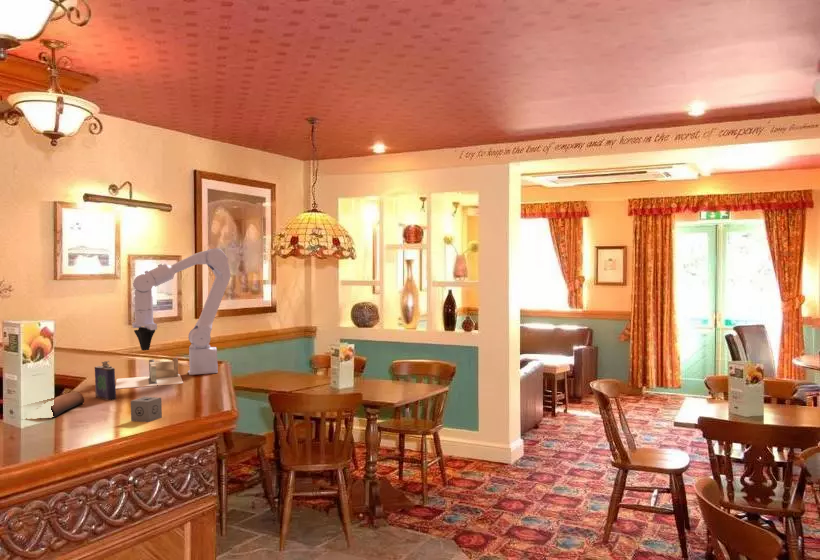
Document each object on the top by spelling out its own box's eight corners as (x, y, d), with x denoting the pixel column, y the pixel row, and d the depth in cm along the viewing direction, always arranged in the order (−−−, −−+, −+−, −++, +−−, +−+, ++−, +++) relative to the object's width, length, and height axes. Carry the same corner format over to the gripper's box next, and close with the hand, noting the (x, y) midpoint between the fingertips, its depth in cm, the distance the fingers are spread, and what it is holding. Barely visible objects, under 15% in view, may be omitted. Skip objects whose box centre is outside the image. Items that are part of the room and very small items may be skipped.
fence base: (178, 375, 232) (177, 357, 232) (178, 376, 230) (177, 358, 230) (149, 378, 228) (148, 359, 228) (149, 378, 227) (148, 360, 227)
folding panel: (150, 377, 227) (149, 362, 226) (154, 377, 227) (154, 361, 227) (151, 382, 218) (151, 365, 218) (156, 381, 218) (156, 365, 218)
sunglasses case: (52, 404, 187) (64, 383, 187) (75, 417, 187) (87, 396, 187) (19, 419, 169) (33, 396, 169) (45, 433, 169) (58, 410, 169)
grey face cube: (148, 422, 164) (148, 401, 164) (131, 421, 165) (130, 400, 165) (161, 417, 169) (161, 397, 168) (144, 416, 170) (144, 396, 170)
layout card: (179, 374, 236) (179, 373, 236) (183, 383, 217) (183, 382, 217) (116, 379, 229) (116, 378, 228) (115, 389, 210) (115, 388, 210)
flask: (93, 397, 197) (92, 360, 197) (103, 395, 199) (102, 359, 199) (109, 401, 191) (108, 362, 191) (119, 399, 194) (118, 361, 193)
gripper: (123, 310, 233) (124, 349, 233) (141, 311, 223) (143, 353, 223) (143, 308, 238) (144, 347, 238) (162, 310, 228) (163, 350, 228)
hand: (145, 350), depth 231 cm, fingers closed
